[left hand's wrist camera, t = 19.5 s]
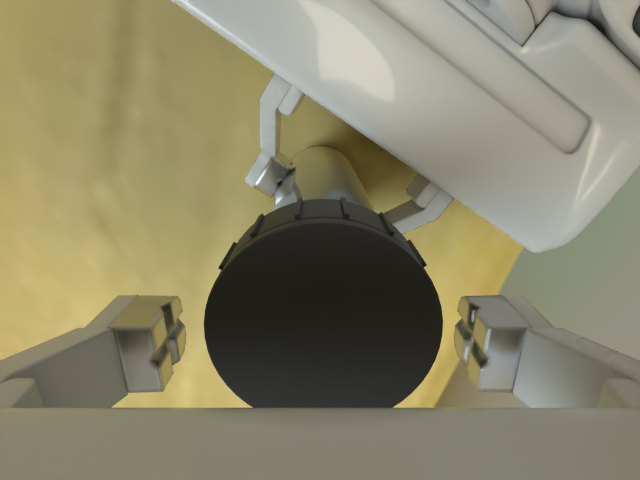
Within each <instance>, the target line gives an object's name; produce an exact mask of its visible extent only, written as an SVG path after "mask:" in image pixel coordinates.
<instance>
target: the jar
mask: <svg viewBox="0 0 640 480" xmlns="http://www.w3.org/2000/svg"><path fill="white" fill-rule="evenodd" d="M292 161H293V164H292V166H291V168H290V170H289V172H288V173H287V175H286V177H285V178H284V179H283V180H282V181H281V182H280V184H279V187H278V189H277V191H276V193H275V195H274V197H273V200H272V202H271V204H270V206H269V208H268V211H267V213H266V215H267V214H268V213H270V212H272V211H274V210H276V209H278V208H280V207H283V206H286V205H289V204H291V203H295V202H297V199H298V198H302V200H303V201H304V200H312V199H336V200H340V199H341V197H343V198H345V199H346V201H347V202H351V203H354V204H357V205H361V206H363V207H365V208H368V209H370V210H372V211H374V212H376V211H375V209H374V207H373V205H372V203H371V201H370V199H369V197H368V195H367V193H366V191H365V189H364V187H363V186H362V184H361V182H360V180H359V178H358V176H357V174H356V172H355V170H354V168H353V166H352V164H351V163H350V161H349V160H348V158H347V157H346V156H345V155H344V154H342V153H341V152H340V151H338V150H336V149H334V148H331V147H327V146H314V147H310V148H307V149H305V150H303V151H301V152H299V153H298V154H297V155H296V156H295V157H294V158H293V159H292Z"/></svg>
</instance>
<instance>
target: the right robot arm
mask: <svg viewBox="0 0 640 480" xmlns="http://www.w3.org/2000/svg"><path fill="white" fill-rule="evenodd" d="M171 1H172V2H174V3H175V4H177V5H178V6H179V7H181V8H182V9H184V10H185V11H187V12H188V13H189V14H191V15H192V16H194V17H195V18H197V19H198V20H199V21H201V22H202V23H204V24H205V25H207V26H208V27H209V28H211V29H212V30H214V31H215V32H217V33H218V34H219V35H221V36H222V37H224V38H225V39H227V40H228V41H229V42H231V43H232V44H234V45H235V46H237V47H238V48H240V49H241V50H243V51H244V52H245V53H247V54H248V55H250V56H251V57H253V58H254V59H255V60H257V61H258V62H260V63H261V64H263V65H264V66H266V67H267V68H268V69H270V70H271V71H273V72H274V75H273V77H272V78H271V80H270V82H269V84H268V85H267V87H266V89H265V91H264V93H263V94H262V96H261V98H260V147H261V148H262V151H261V153H260V154H259V156H258V158H257V159H256V161H255V163H254V164H253V166H252V168H251V169H250V171H249V173H248V175H247V176H246V178H245V181H244V182H245V183H247V184H248V185H250V186H251V187H254V188H255V189H257V190H258V191H260V192H262V193H263V194H265V195H267V196H268V197H270V198H272V197H273V196H274V194H275V192H276V191H277V189H278V187H279V184H280V182H281V181H282V180H283V179H284V178H285V177H286V175H287V173H288V172H289V170H290V168H291V166H292V164H293V161H292V160H290V159H289V158H287V157H286V156H284V155H283V154H282V153H280V126H281V113H282V114H284V115H285V116H290V115H292V114H294V112H295V110H296V109H297V107H298V105H299V104H300V102H301V101H302V99H303V97H304V96H305V94H306V95H307V96H309V97H310V98H311V99H313V100H314V101H316V102H317V103H319V104H320V105H321V106H323V107H324V108H326V109H327V110H329V111H330V112H331V113H333V114H334V115H336V116H337V117H339V118H340V119H342V120H343V121H344V122H346V123H347V124H349V125H350V126H352V127H353V128H354V129H356V130H357V131H359V132H360V133H362V134H363V135H364V136H366V137H367V138H369V139H370V140H372V141H373V142H375V143H376V144H377V145H379V146H380V147H382V148H383V149H385V150H386V151H387V152H389V153H390V154H392V155H393V156H395V157H396V158H397V159H399V160H400V161H402V162H403V163H405V164H406V165H407V166H409V167H410V168H412V169H413V170H415V171H416V172H418V174H417V175H416V177H415V178H414V179H413V181H412V182H411V183H410V185H409V186H408V188H407V189H406V193H407V194H408V195H409V197H410V198H411V199H412V200H410V201H408V202H406V203H404V204H402V205H400V206H398V207H396V208H393V209H391V210H389V211H387V212H385V213H384V214H385V216H386V218H387V220H388V221H389V222H390V223H391V224H392V225H393V226H395V227H396V228H397V229H398V231H399V232H400V233H401V234H403V233H406V232H408V231H411V230H413V229H415V228H418V227H420V226H422V225H425V224H427V223H429V222H432V221H434V220H437V219H438V218H439V216H440V215H441V214H442V213H443V212H444V210H445V209H446V208H447V207H448V205H449V204H450V203H451V202H452V200H453V199H454V198H455V199H456V200H458V201H459V202H461V203H462V204H463V205H465V206H466V207H468V208H469V209H471V210H472V211H473V212H475V213H476V214H478V215H479V216H480V217H482V218H483V219H485V220H486V221H488V222H489V223H490V224H492V225H493V226H495V227H496V228H498V229H499V230H501V231H502V232H503V233H505V234H506V235H508V236H509V237H511V238H512V239H513V240H515V241H516V242H518V243H519V244H521V245H522V246H524V247H525V248H527V249H528V250H529V251H531V252H533V253H541V252H545V251H548V250H552V249H555V248H558V247H561V246H564V245H566V244H567V243H569V242H570V241H572V240H573V239H574V238H575V237H576V236H577V235H578V234H579V233H581V232H582V231H583V230H584V229H585V228H586V226H587V225H588V224H589V223H590V222H591V221H592V220H593V219H594V218H595V217H596V216H597V215H598V214H599V213H600V212H601V211H602V210H603V208H604V207H605V206H606V205H607V204H608V203H609V202H610V201H611V200H612V199H613V197H614V196H615V195H616V194H617V193H618V192H619V190H620V189H621V188H622V187H623V186H624V185H625V183H626V182H627V181H628V180H629V179H630V177H631V176H632V175H633V174H634V173H635V171H636V170H637V169H638V168H639V166H640V0H171Z"/></svg>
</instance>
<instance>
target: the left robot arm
mask: <svg viewBox="0 0 640 480" xmlns="http://www.w3.org/2000/svg"><path fill="white" fill-rule="evenodd" d="M182 311H183V310H182V305H181V300H180V299H179V297H178V296H152V295H121V296H117V297H116V298H115V299H114V300H113V301H112V302H111V303H110V304H109V305H108V306H107V307H106V308H105V309H104V310H103V311H102V312H101V313H100V314H99V315H97V316H96V317H95V318H94V319H93V320H92V321H91V322H90V323H89V324H88V325H87V326H86V327H85V328H77V329H75V330H73V331H70V332H68V333H65V334H63V335H61V336H58V337H56V338H53V339H51V340H49V341H46V342H44V343H41V344H39V345H37V346H34V347H32V348H30V349H27V350H25V351H22V352H20V353H18V354H15V355H13V356H10V357H8V358H6V359H3V360H1V361H0V480H640V361H639V360H637V359H634V358H632V357H629V356H627V355H625V354H622V353H620V352H617V351H615V350H613V349H610V348H608V347H606V346H603V345H601V344H598V343H596V342H594V341H591V340H589V339H587V338H584V337H582V336H579V335H577V334H575V333H572V332H570V331H567V330H565V329H563V328H555V327H554V326H553V325H552V324H551V323H550V322H549V321H548V320H547V319H546V318H545V317H544V316H543V315H542V314H541V313H539V312H538V311H537V310H536V309H535V308H534V307H533V306H532V305H531V304H530V303H529V302H528V301H527V300H526V299H525V298H524V297H523V296H520V295H491V296H463V297H461V298H460V301H459V304H458V310H457V311H458V313H459V314H460V316H461V318H462V319H461V320H460V321H459V322H458V323H457V324H456V325H455V331H454V344H455V349H456V353H457V355H458V357H459V359H460V361H461V362H463V363H464V364H466V365H468V367H467V374H468V376H469V378H470V380H471V382H472V384H473V385H474V387H475V389H476V391H477V392H504V393H512V395H514V396H515V397H516V398H518V399H519V400H520V401H522V402H523V403H524V404H525V405H527V406H528V407H529V408H111V407H112V406H113V405H115V404H116V403H117V402H119V401H120V400H121V399H123V398H124V397H125V396H126V395H128V393H135V392H163V391H164V389H165V387H166V385H167V384H168V382H169V380H170V378H171V376H172V374H173V367H172V365H174V364H176V363H177V362H179V361H180V359H181V357H182V355H183V353H184V349H185V344H186V330H185V325H184V324H183V323H182V322H181V321H180V320H179V319H178V318H179V316H180V314H181V313H182Z"/></svg>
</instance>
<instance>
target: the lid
mask: <svg viewBox="0 0 640 480" xmlns="http://www.w3.org/2000/svg"><path fill="white" fill-rule="evenodd" d="M425 266H427V265H426V263H425V262H424V260H423V259H422V257H421V255H420V254H419V252H418V251H417V249H416V248H415V246H414V245H413V243H412V242H411V240H408V241H406V239H405V238H404V236H403V235H402V234H401V233H400V232H399V231H398V229H397V228H396V227H395V226H393V225H392V224H391V223H390V222H389V221H388V220H387V218H386V216H385V214H384V213H382V212H380V214H377V213H376V212H374V211H372V210H370V209H368V208H365V207H363V206H361V205H357V204H354V203H351V202H347V201H346V199H345V198H343V197H341V199H340V200H336V199H312V200H304V201H303V200H302V198H298V199H297V202H295V203H291V204H289V205H286V206H283V207H280V208H278V209H276V210H274V211H272V212H270V213H268V214H267V215H265V216H264V215H263V214H261V215H259V217H258V219H257V221H256V223H255V224H253V225H252V226H251V227H250V228H249V229H248V230H247V231H246V232H245V234H244V235H243V236H242V237H241V238H240V240H239V241H238V243H235V242H234V243H233V244H232V246H231V248H230V249H229V251H228V253H227V254H226V256H225V258H224V259H223V261H222V263H221V265H220V266H219V269H221V270H222V271H221V272H220V274H219V276H218V278H217V279H216V281H215V283H214V285H213V287H212V290H211V292H210V295H209V297H208V301H207V304H206V309H205V318H204V332H205V340H206V345H207V349H208V352H209V355H210V358H211V360H212V363H213V365H214V367H215V368H216V370H217V372H218V374H219V375H220V377H221V378H222V379H223V381H224V382H225V383H226V385H227V386H228V387H229V388H230V389H231V390H232V391H233V392H234V393H235V394H236V395H237V396H238V397H239V398H241V399H242V400H243V401H244V402H246V403H247V404H249V405H250V406H252V407H253V408H393V407H394V406H396V405H397V404H399V403H400V402H402V401H403V400H404V399H405V398H406V397H408V396H409V395H410V394H411V393H412V392H413V391H414V390H415V389H416V388H417V387H418V386H419V385H420V384H421V382H422V381H423V380H424V378H425V377H426V375H427V374H428V373H429V371H430V369H431V367H432V365H433V363H434V361H435V359H436V356H437V353H438V351H439V348H440V343H441V338H442V327H443V318H442V309H441V304H440V301H439V297H438V293H437V291H436V289H435V287H434V285H433V282H432V280H431V279H430V277H429V276H428V274H427V272H426V271H425V269H424V268H423V267H425Z"/></svg>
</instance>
